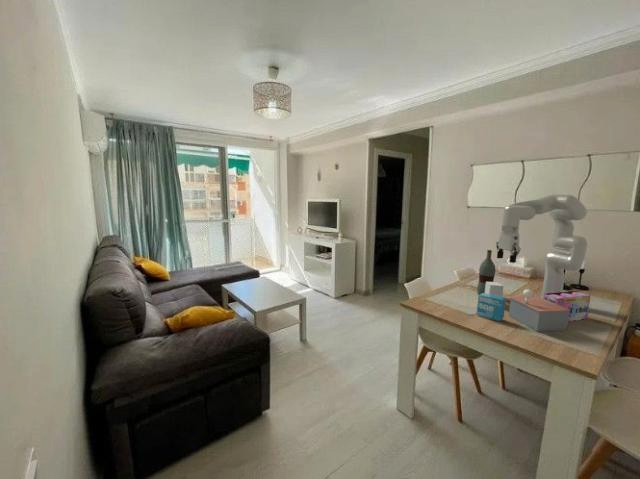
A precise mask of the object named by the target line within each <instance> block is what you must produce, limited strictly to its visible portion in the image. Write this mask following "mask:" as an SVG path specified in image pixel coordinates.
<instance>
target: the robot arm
mask: <svg viewBox="0 0 640 479" xmlns="http://www.w3.org/2000/svg"><path fill="white" fill-rule="evenodd" d="M546 213H548V214H549V215H550V217H551V219H552V220H553V222H554V232H553V237H552V241H551V247H552V248H553V249H556V250H561V251H566V252H561V251H556V250H555V251H553V250H552V251H549V252H547V253H546V254H545V256H544V263H545V264H544V265H545V268H544V270H545V271H544V276H543V277H544V278H543V284H542V290H541V295H539V296H538V297H541V298H543V296H544V294H545V293H557V292H564V291H563V289H564V284H565V278H566V275H565V272H564V270H566V271H570V272H577V271H580V270H581V269H582V267H583V264H584V260H585V256H586V253H587V249H588V242H587V239H586V238H585V237H584V236H580V235H574V229H575V225H574V223H573V221H581V220H583V219H585V218H586V216H587V209H586V206H585V205H584V204H583V203H582V202H581V201H580V200H579V199H578V198H577V197H576V196H574V195H572V194H550V195H546V196H543V197H540V198H538V199H531V200H527V201H519V202H514V203H512V204H509V205H508V206H505V207H504V208H503V215H502V223H501V224H502V225H501V231H500V235H499V239H498V241H497V242H496V243H495V246H496V251H497V254H496V258H497V259H503V258H504V253H505V252H504V251H508V252H510V255H509V261H508V262H509V263H510V264H511V263H514V264H515V263H517V256H518V255H519V254H520V252H521V251H522V248H521V247H520V234H519V227H520V220H521V221H530V220H532V219H534V218H535V217H536V215H542V214H546ZM567 252H570V253H567Z"/></svg>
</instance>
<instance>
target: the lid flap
mask: <svg viewBox="0 0 640 479" xmlns="http://www.w3.org/2000/svg"><path fill="white" fill-rule="evenodd" d="M522 294H523V296H510V300H511V299H513V300H515V301H517V302H519V303H521V304H523V305H525V306H527V307H529V308H531V309H533V310H535V311H537V312H564V311H570V310H569V309H566V308H564V307H562V306H559V305H557V304H555V303H552V302H550V301H548V300H545V299H543V298H541V297H539V296H537V295H535V296H533V294H534V293H533V291H532V290H531V289H524V290H523V292H522Z"/></svg>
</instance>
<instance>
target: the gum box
mask: <svg viewBox="0 0 640 479" xmlns="http://www.w3.org/2000/svg"><path fill="white" fill-rule="evenodd" d="M543 299H545V300H548V301H550V302H552V303H555V304H557V305H559V306H562V307H564V308H566V309H569V310H570V312H569V318H568V322H574V321H573V320H576V321H582V320H581V319H584V320H588V316H589V310H590V309H589V308H590V301H591V294H588V295H587V294H585V293H583V292H580V291H579V290H569V291H568V290H567V291H562V292H557V293H545V294H544V296H543Z"/></svg>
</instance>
